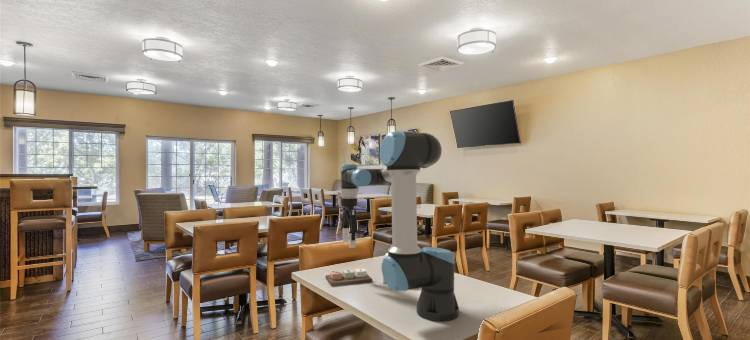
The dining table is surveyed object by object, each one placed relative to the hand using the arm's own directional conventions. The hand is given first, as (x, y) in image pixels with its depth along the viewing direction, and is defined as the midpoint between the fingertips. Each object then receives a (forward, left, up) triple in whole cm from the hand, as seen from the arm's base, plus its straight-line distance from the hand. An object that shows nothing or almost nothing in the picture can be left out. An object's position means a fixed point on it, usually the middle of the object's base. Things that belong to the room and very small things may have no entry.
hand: (348, 244), depth 173 cm
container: (-8, -18, -17) cm, 26 cm away
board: (0, 0, -16) cm, 16 cm away
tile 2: (0, 0, -15) cm, 15 cm away
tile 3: (0, +6, -15) cm, 16 cm away
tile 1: (0, -6, -15) cm, 16 cm away
